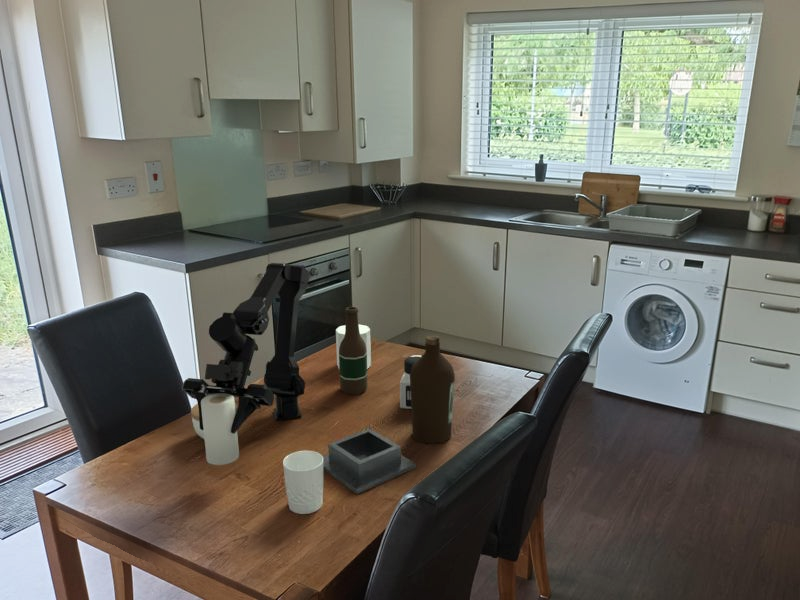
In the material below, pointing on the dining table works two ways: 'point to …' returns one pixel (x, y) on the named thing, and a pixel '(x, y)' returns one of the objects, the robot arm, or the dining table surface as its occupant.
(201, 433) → the lidded jar
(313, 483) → the white cup
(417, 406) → the olive oil
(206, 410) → the white paper towel roll
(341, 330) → the toilet paper
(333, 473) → the square open box
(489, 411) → the dining table surface
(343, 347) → the beer bottle
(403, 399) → the container
